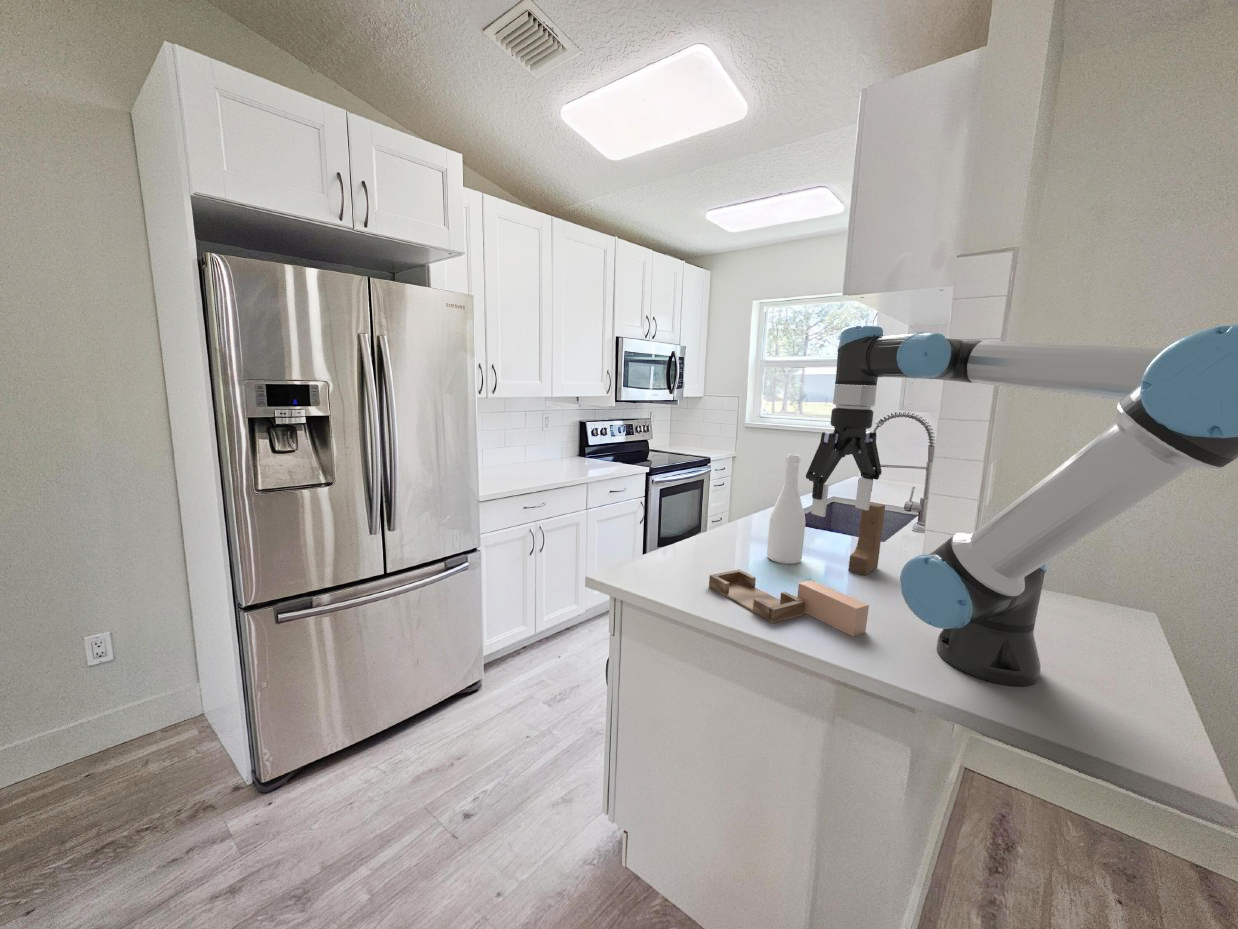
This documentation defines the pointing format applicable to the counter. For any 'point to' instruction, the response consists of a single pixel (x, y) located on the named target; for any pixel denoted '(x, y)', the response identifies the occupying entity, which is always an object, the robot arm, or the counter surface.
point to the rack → (756, 596)
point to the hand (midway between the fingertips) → (840, 512)
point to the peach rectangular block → (834, 607)
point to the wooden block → (868, 540)
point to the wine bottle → (787, 519)
